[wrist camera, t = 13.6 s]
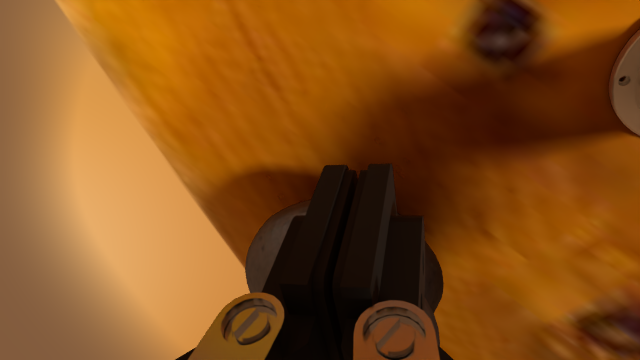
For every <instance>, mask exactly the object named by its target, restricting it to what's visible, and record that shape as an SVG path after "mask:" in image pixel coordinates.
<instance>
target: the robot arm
mask: <svg viewBox="0 0 640 360" xmlns="http://www.w3.org/2000/svg"><path fill="white" fill-rule="evenodd" d="M623 76H624V77H623ZM621 77H623V78H622V79H620V78H621ZM619 79H620V80H619ZM609 96H610V101H611V105H612V107H613V109H614V111H615V113H616V115H617V116H618V118H619V119H620V120H621V121H622V123H623V124H624V125H625V126H626V127H628V128H629V129H630V130H631V131H632V132H634V133H636V134H638V135H639V136H640V29H639V30H638V31H637V32H636V33H635V34H634V35H633V36H632V37H631V39H630V40H629V41H628V42H627V44H626V45H625V47H624V48H623V49H622V51H621V52H620V54H619V56H618V58H617V60H616V62H615V64H614V66H613V69H612V72H611V76H610V80H609ZM424 294H425V235H424V219H423V216H397V207H396V197H395V187H394V176H393V167H392V164H391V163H390V164H369V166H368V170H361V171H360V175H359V178H358V181H357V175H356V171H355V170H349V168H348V166H347V165H326V166H325V167H324V168H323V171H322V174H321V176H320V179H319V181H318V184H317V186H316V189H315V192H314V194H313V197H312V199H311V202H310V204H309V207H308V210H307V212H306V215H296V216H295V217H293V219H292V221H291V223H290V226H289V228H288V230H287V233H286V235H285V237H284V240H283V242H282V244H281V247H280V249H279V252H278V254H277V256H276V259H275V261H274V263H273V266H272V268H271V271H270V273H269V275H268V278H267V280H266V282H265V285H264V287H263V290H262V292H261V293H258V292H255V293H250V294H245V295H243V296H241V297H238V298H236V299H234V300H233V301H232V302H230V303H229V304H227V305H226V306H225V307H224V308H223V309H222V311H221V312H220V313H219V314H218V316H217V317H216V319H215V320H214V322H213V323H212V324H211V326H210V327H209V329H208V330H207V332H206V333H205V335H204V336H203V338H202V339H201V341H200V342H199V344H198V345H197V347H196V348H194V349H192V350H191V351H189V352H187V353H186V354H184V355H182V356H181V357H179V358H177V359H176V360H453V359H452V358H451V357H450V356H449V355H448V354H447V353H446V352H445V351H444V350H443V349H441V348H440V347H439V346H438V345H437V340H436V334H435V329H434V327H433V324H432V321H431V319H430V318H429V317H428V315H427V314H426V313H425V312H424Z"/></svg>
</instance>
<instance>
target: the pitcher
mask: <svg viewBox="0 0 640 360" xmlns="http://www.w3.org/2000/svg"><path fill="white" fill-rule="evenodd" d="M310 202H311V200H308V201H304V202H301V203H298V204H295V205H292V206H289V207H287V208H285V209H283V210H281V211H280V212H278V213H276V214H274V215H272V216H271V217H270V218H269V219H268V220H267V221H266V222H265V223H264V225H263V226H262V227H261V228H260V229H259V231H258V233H257V234H256V236H255V238H254V240H253V242H252V243H251V245H250V247H249V250H248V254H247V258H246V267H245V272H246V279H247V284H248V287H249V290H250V293H255V292H258V293H261V292H262V290H263V287H264V285H265V282H266V280H267V278H268V275H269V273H270V271H271V268H272V266H273V263H274V261H275V259H276V256H277V254H278V252H279V249H280V247H281V244H282V242H283V240H284V237H285V235H286V233H287V230H288V228H289V226H290V223H291V221H292V219H293V217H295V216H296V215H306V212H307V210H308V207H309V204H310ZM397 216H401V215H399V214H398V213H397ZM442 294H443V276H442V270H441V267H440V264H439V262H438V260H437V258H436V256H435V254H434V252H433V251H432V250H431V248H430V247H429V246H428V244H427V243H426V241H425V294H424V312H425V313H426V314H427V315H428V317H429V318H430V319H431V321H432V324H433V327H434V329H435V334H436V340H437V345H438V346H439V347H440V340H439V330H438V326H437V323H436V320H435V316H434V312H435V310H436V308H437V306H438V304H439V302H440V300H441V298H442Z"/></svg>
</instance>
